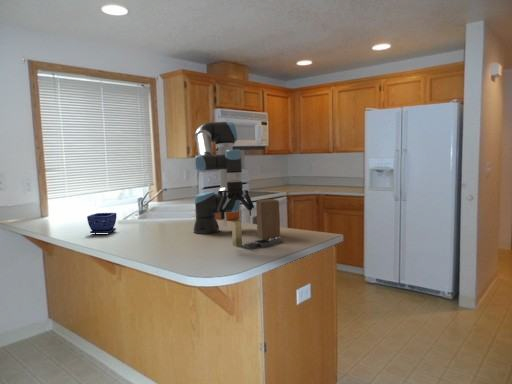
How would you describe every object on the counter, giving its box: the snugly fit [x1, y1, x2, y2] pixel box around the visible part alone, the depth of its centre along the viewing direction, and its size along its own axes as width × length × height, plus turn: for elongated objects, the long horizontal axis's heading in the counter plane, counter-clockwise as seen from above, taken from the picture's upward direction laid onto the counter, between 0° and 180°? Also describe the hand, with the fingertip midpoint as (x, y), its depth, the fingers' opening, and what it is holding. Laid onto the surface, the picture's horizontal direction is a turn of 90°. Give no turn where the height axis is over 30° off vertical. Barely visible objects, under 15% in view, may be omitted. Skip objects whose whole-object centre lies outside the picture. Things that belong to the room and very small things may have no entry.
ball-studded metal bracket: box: [243, 236, 284, 250], centre depth 190 cm, size 8×21×3 cm, turn 125°
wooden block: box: [255, 198, 281, 240], centre depth 208 cm, size 10×10×20 cm
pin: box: [231, 220, 243, 247], centre depth 191 cm, size 3×3×12 cm
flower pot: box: [86, 212, 117, 234], centre depth 237 cm, size 13×13×12 cm
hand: (236, 224), depth 191 cm, fingers open, 13 cm apart
